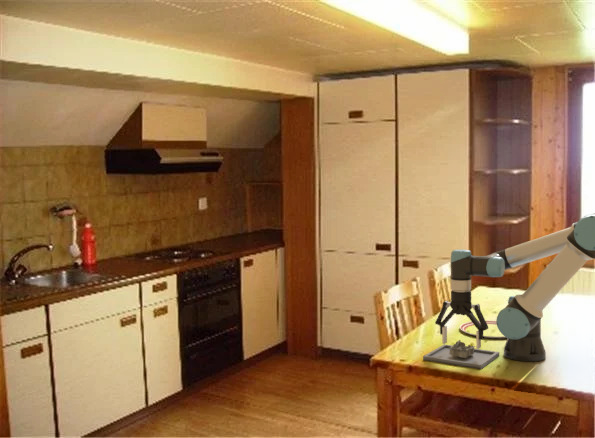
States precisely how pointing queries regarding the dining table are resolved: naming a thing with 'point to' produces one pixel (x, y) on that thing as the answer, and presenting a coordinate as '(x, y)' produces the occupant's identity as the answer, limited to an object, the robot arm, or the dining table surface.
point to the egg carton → (461, 349)
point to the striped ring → (465, 325)
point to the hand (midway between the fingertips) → (461, 345)
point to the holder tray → (472, 361)
